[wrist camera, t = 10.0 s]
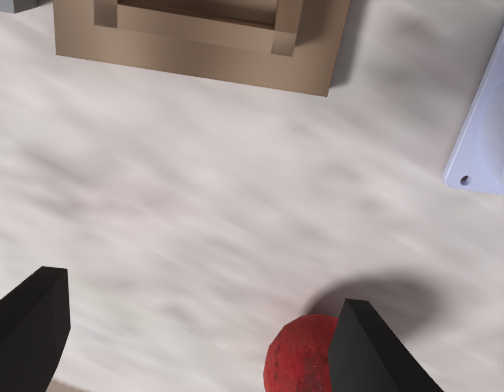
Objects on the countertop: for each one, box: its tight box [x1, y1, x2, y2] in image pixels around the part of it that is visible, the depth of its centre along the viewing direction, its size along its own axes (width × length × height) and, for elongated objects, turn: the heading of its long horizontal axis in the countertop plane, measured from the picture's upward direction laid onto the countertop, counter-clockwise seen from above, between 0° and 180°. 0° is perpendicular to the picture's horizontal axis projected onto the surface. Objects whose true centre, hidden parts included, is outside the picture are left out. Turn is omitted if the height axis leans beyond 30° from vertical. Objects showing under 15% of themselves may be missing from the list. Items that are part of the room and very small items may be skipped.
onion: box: [263, 314, 339, 392], centre depth 22 cm, size 6×6×8 cm
